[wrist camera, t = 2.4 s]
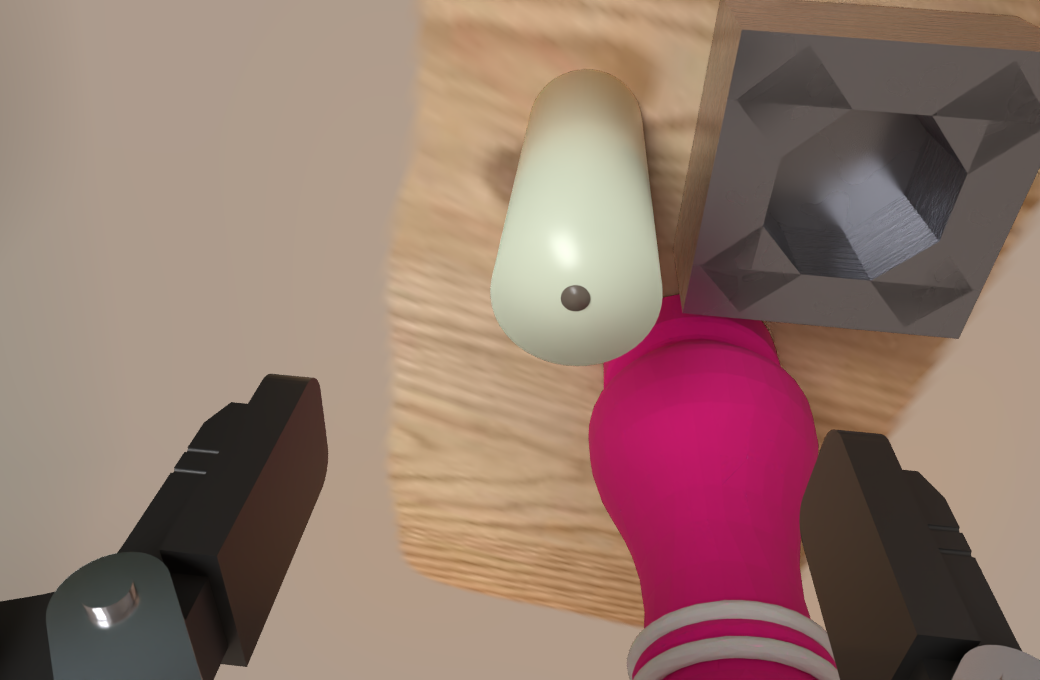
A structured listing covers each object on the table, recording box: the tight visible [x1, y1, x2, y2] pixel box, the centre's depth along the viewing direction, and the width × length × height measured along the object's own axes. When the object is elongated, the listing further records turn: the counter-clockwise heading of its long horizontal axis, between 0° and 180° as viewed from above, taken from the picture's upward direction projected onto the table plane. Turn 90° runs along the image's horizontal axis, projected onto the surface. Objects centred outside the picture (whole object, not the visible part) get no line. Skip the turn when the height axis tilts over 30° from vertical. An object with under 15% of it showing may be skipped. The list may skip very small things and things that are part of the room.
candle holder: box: [673, 0, 1040, 339], centre depth 22 cm, size 8×8×4 cm
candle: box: [490, 69, 663, 366], centre depth 20 cm, size 4×4×10 cm
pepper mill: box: [589, 294, 840, 680], centre depth 20 cm, size 7×7×20 cm
